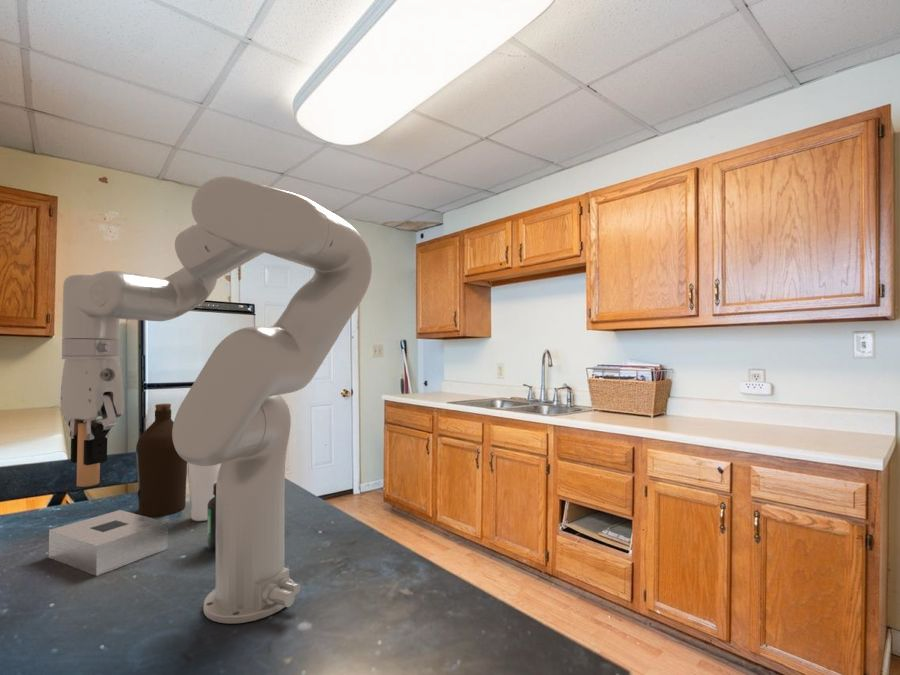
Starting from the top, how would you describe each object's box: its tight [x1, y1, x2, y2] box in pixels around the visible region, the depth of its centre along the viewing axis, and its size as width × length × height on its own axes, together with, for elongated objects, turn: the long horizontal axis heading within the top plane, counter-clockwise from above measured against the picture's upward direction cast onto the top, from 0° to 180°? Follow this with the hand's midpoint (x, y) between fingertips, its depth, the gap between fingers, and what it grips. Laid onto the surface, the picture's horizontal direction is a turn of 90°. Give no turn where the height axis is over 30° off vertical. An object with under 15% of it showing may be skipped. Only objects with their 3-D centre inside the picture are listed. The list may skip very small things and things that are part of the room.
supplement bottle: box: [206, 483, 217, 553], centre depth 91 cm, size 7×7×12 cm
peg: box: [76, 421, 101, 488], centre depth 78 cm, size 3×3×10 cm
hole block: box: [48, 509, 169, 577], centre depth 88 cm, size 16×12×5 cm
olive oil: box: [135, 403, 188, 518], centre depth 112 cm, size 11×11×25 cm
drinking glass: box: [187, 462, 221, 522], centre depth 106 cm, size 7×7×15 cm
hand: (88, 461), depth 78 cm, fingers closed on peg, 3 cm apart
